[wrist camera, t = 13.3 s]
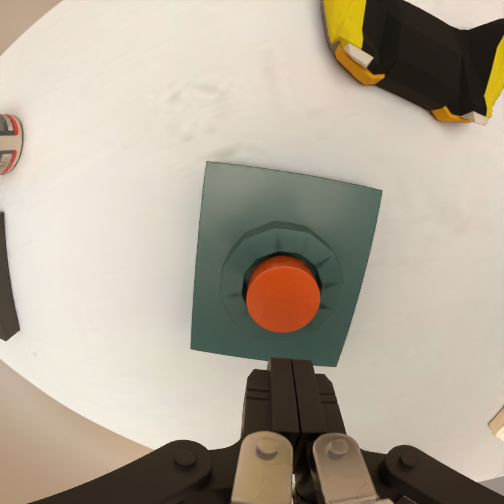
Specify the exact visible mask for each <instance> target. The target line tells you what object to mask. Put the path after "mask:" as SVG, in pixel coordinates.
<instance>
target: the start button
mask: <svg viewBox="0 0 504 504" xmlns="http://www.w3.org/2000/svg"><path fill="white" fill-rule="evenodd" d="M246 303H247V308H248V311H249V314H250V315H251V317H252V318H253V320H254V321H255V322H256V323H257V324H259V325H260V326H261V327H263V328H265V329H267V330H269V331H273V332H280V333H285V332H292V331H295V330H298V329H300V328H302V327H304V326H305V325H306V324H308V323H309V322H310V321H311V320H312V319H313V317H314V316H315V314H316V313H317V311H318V308H319V305H320V291H319V288H318V285H317V283H316V280H315V278H314V276H313V273H312V271H311V270H310V268H309V267H308V266H307V265H306V264H305V263H304V262H302V261H301V260H299V259H297V258H294V257H291V256H284V255H282V256H274V257H271V258H268V259H266V260H264V261H263V262H261V263H260V264H259V265H258V266H257V267H256V268H255V269H254V270H253V272H252V274H251V276H250V279H249V283H248V290H247V297H246Z"/></svg>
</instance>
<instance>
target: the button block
mask: <svg viewBox="0 0 504 504" xmlns="http://www.w3.org/2000/svg"><path fill="white" fill-rule="evenodd" d="M381 196H382V190H379V189H375V188H371V187H366V186H361V185H357V184H352V183H347V182H342V181H337V180H332V179H326V178H321V177H316V176H310V175H304V174H298V173H292V172H286V171H280V170H273V169H266V168H259V167H252V166H244V165H236V164H228V163H219V162H209V161H207V162H206V169H205V177H204V185H203V194H202V203H201V212H200V222H199V232H198V243H197V255H196V267H195V280H194V294H193V310H192V327H191V349H192V350H198V351H203V352H209V353H215V354H221V355H228V356H235V357H241V358H249V359H256V360H264V361H269V358H270V357H277V358H288V359H290V360H291V359H303V360H311V361H312V363H313V365H315V366H329V367H336V366H337V363H338V360H339V357H340V354H341V352H342V349H343V346H344V343H345V339H346V336H347V333H348V330H349V327H350V324H351V320H352V317H353V314H354V310H355V307H356V303H357V300H358V296H359V293H360V289H361V285H362V282H363V278H364V274H365V270H366V266H367V262H368V258H369V254H370V250H371V245H372V241H373V236H374V232H375V227H376V222H377V217H378V212H379V207H380V202H381ZM282 255H284V256H291V257H294V258H297V259H299V260H301V261H302V262H304V263H305V264H306V265H307V266H308V267H309V268H310V270H311V271H312V273H313V276H314V278H315V280H316V283H317V285H318V288H319V291H320V305H319V308H318V311H317V313H316V314H315V316H314V317H313V319H312V320H311V321H310V322H309V323H308V324H306V325H305V326H304V327H302V328H300V329H298V330H295V331H292V332H285V333H280V332H273V331H269V330H267V329H265V328H263V327H261V326H260V325H259V324H257V323H256V322H255V321H254V320H253V318H252V317H251V315H250V314H249V311H248V308H247V303H246V297H247V290H248V283H249V279H250V276H251V274H252V272H253V270H254V269H255V268H256V267H257V266H258V265H259V264H260V263H261V262H263V261H264V260H266V259H268V258H271V257H274V256H282Z"/></svg>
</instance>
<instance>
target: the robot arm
mask: <svg viewBox="0 0 504 504" xmlns="http://www.w3.org/2000/svg"><path fill="white" fill-rule="evenodd" d="M292 474H295V484H294V486H293V489H292ZM404 496H406V497H407V498H406V497H404ZM292 498H293V504H415V503H417V504H504V496H502V495H500V494H498V493H496V492H494V491H492V490H490V489H488V488H486V487H484V486H483V485H481V484H479V483H477V482H475V481H473V480H471V479H469V478H468V477H466V476H464V475H462V474H460V473H458V472H457V471H455V470H453V469H451V468H450V467H448V466H446V465H444V464H443V463H441V462H439V461H437V460H436V459H434V458H432V457H431V456H429V455H427V454H426V453H424V452H422V451H421V450H419V449H417V448H415V447H413V446H409V445H400V446H396V447H394V448H392V449H391V450H390V451H389V453H388V454H381V453H375V452H369V451H365V450H362V449H360V448H359V446H358V444H357V443H356V441H355V440H353V439H352V438H351V437H349V436H347V434H346V431H345V427H344V424H343V420H342V416H341V413H340V409H339V406H338V404H337V398H336V395H335V391H334V388H333V384H332V383H331V381H330V380H329V379H328V378H327V377H326V376H325V375H324V374H315V372H314V368H313V363H312V361H311V360H303V359H291V360H290V359H288V358H277V357H270V358H269V362H268V367H267V370H259V369H254V370H253V371H252V372H251V374H250V375H249V376H248V378H247V385H246V391H245V398H244V404H243V415H242V427H241V438H240V440H239V441H238V442H237V443H235V444H234V445H232V446H230V447H227V448H223V449H216V450H208V449H206V448H205V447H204V446H203V445H201V444H199V443H197V442H194V441H190V440H176V441H172V442H170V443H168V444H166V445H164V446H162V447H160V448H158V449H157V450H155V451H153V452H151V453H149V454H147V455H145V456H143V457H141V458H139V459H137V460H135V461H133V462H131V463H129V464H127V465H125V466H123V467H121V468H119V469H116V470H114V471H112V472H110V473H108V474H105V475H103V476H101V477H99V478H97V479H94V480H92V481H89V482H87V483H84V484H82V485H79V486H77V487H74V488H72V489H69V490H67V491H64V492H61V493H58V494H55V495H53V496H50V497H47V498H44V499H41V500H38V501H34V502H31V503H28V504H291V501H292ZM408 498H409V499H410V500H409V499H408ZM411 500H412V501H414V502H415V503H414V502H412V501H411Z"/></svg>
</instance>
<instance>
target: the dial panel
mask: <svg viewBox="0 0 504 504" xmlns="http://www.w3.org/2000/svg"><path fill="white" fill-rule="evenodd" d="M19 330H20V329H19V325H18V320H17V316H16V311H15V306H14V301H13V296H12V290H11V284H10V278H9V271H8V263H7V254H6V244H5V230H4V213H2V212H0V339H2V340H4V341H7V340H8V339H10V338H11V337H12V336H13V335H14V334H16V333H17V332H18V331H19Z"/></svg>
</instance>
